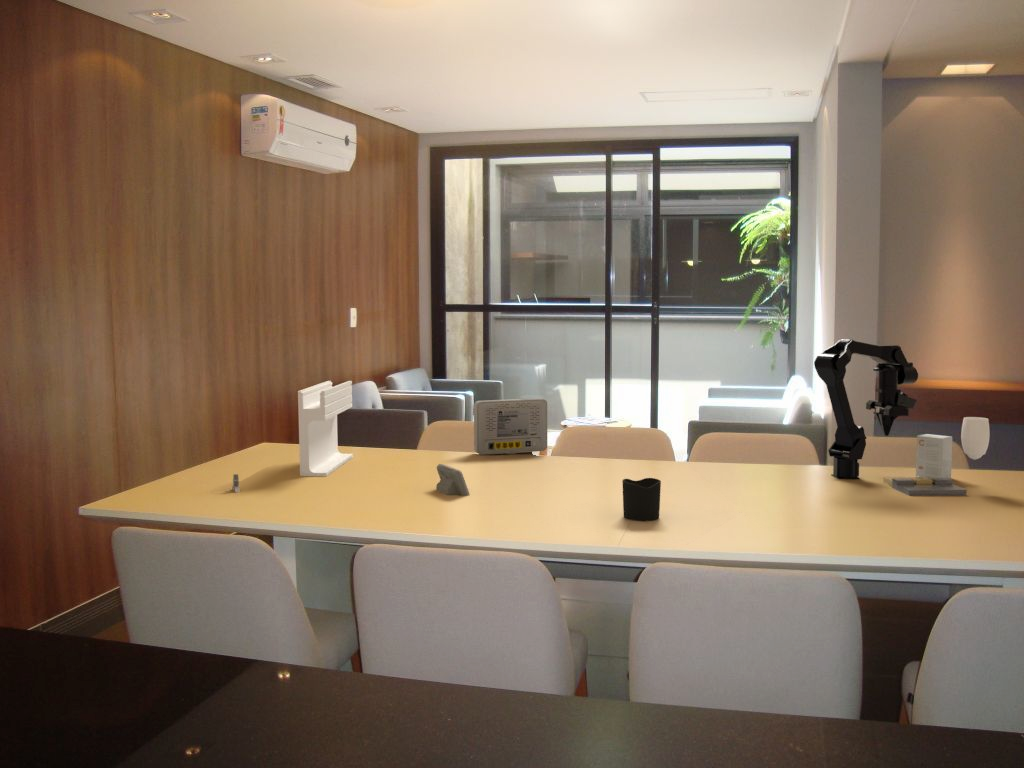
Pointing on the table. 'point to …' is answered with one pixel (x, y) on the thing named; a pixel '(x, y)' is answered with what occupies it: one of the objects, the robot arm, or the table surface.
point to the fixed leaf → (928, 487)
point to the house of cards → (236, 483)
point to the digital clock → (451, 481)
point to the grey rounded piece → (975, 436)
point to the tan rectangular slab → (916, 479)
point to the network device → (510, 426)
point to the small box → (934, 456)
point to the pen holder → (641, 499)
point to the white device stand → (321, 427)
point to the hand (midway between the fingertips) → (886, 435)
